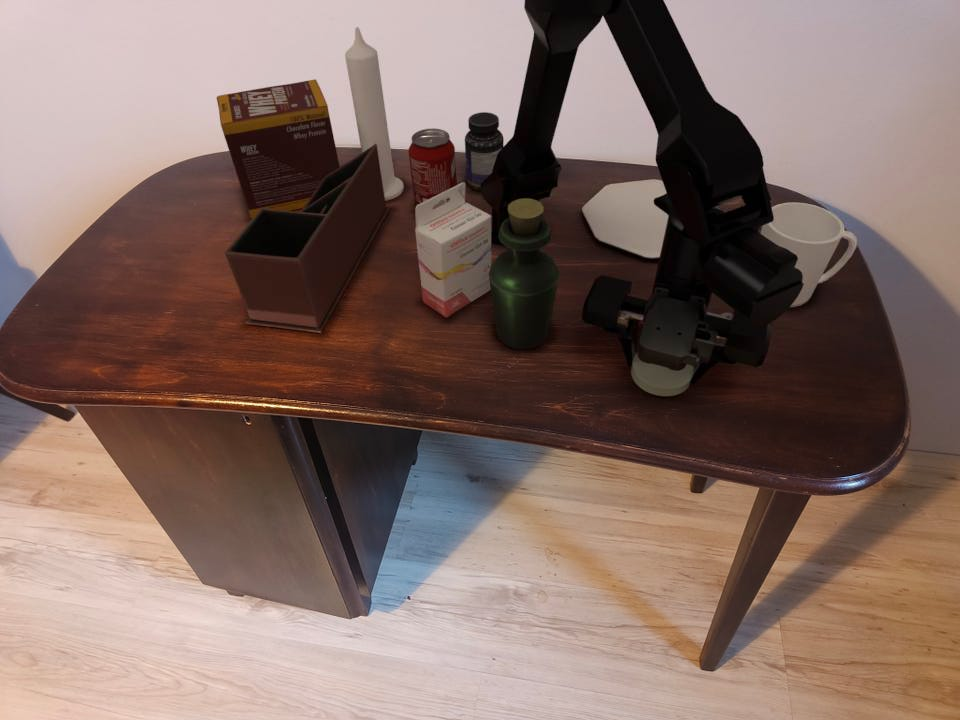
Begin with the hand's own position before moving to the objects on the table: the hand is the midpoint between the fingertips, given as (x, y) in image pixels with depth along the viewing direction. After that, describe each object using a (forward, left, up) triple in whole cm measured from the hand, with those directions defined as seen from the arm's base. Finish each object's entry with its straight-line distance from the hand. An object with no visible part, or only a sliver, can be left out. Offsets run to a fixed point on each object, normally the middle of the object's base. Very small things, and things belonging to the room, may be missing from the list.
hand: (661, 372), depth 73 cm
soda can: (-40, +23, -1) cm, 46 cm away
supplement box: (-64, +19, -1) cm, 67 cm away
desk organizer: (-49, +5, -1) cm, 49 cm away
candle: (-51, +25, -1) cm, 57 cm away
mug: (+12, +22, -1) cm, 25 cm away
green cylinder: (0, 0, -1) cm, 1 cm away
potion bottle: (-17, +1, -1) cm, 18 cm away
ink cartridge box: (-28, +5, -1) cm, 28 cm away
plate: (-8, +31, -1) cm, 32 cm away
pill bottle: (-36, +33, -1) cm, 49 cm away
